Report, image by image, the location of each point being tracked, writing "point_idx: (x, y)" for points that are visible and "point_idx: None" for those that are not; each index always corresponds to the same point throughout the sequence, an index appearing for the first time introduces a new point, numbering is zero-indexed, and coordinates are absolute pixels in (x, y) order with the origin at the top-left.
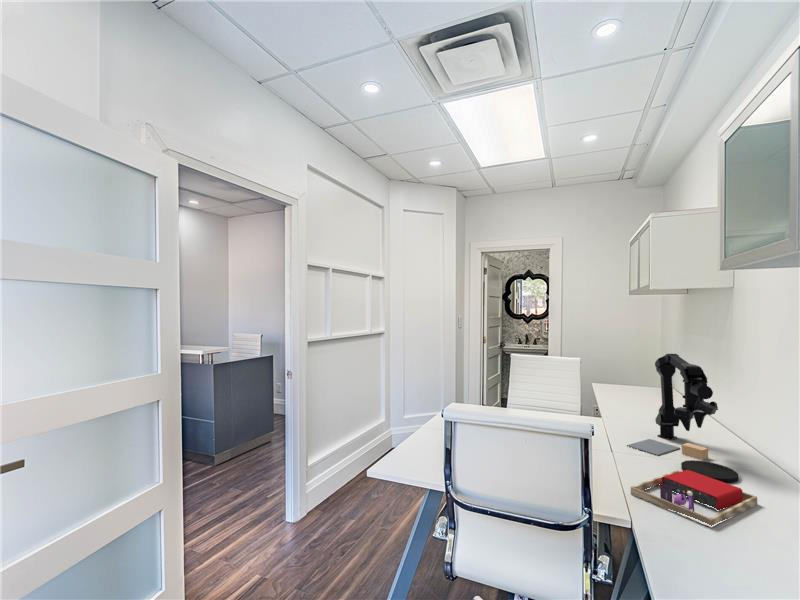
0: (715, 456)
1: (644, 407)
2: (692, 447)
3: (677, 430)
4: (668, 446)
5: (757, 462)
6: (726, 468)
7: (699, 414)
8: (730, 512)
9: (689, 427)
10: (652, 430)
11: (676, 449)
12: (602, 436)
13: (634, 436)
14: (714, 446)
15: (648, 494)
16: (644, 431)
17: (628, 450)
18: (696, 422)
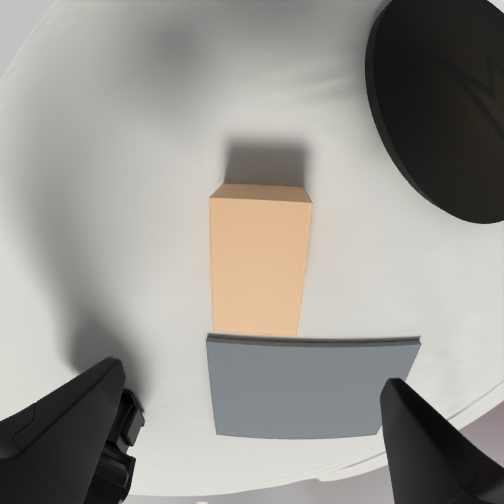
0: (150, 176)
1: None
2: (300, 273)
3: (32, 387)
4: (244, 374)
5: (67, 36)
6: (403, 27)
7: (34, 499)
8: None
9: (421, 406)
10: None
11: (244, 342)
12: (323, 480)
13: (227, 457)
14: (28, 255)
15: None
16: (140, 448)
17: None
18: (106, 428)
